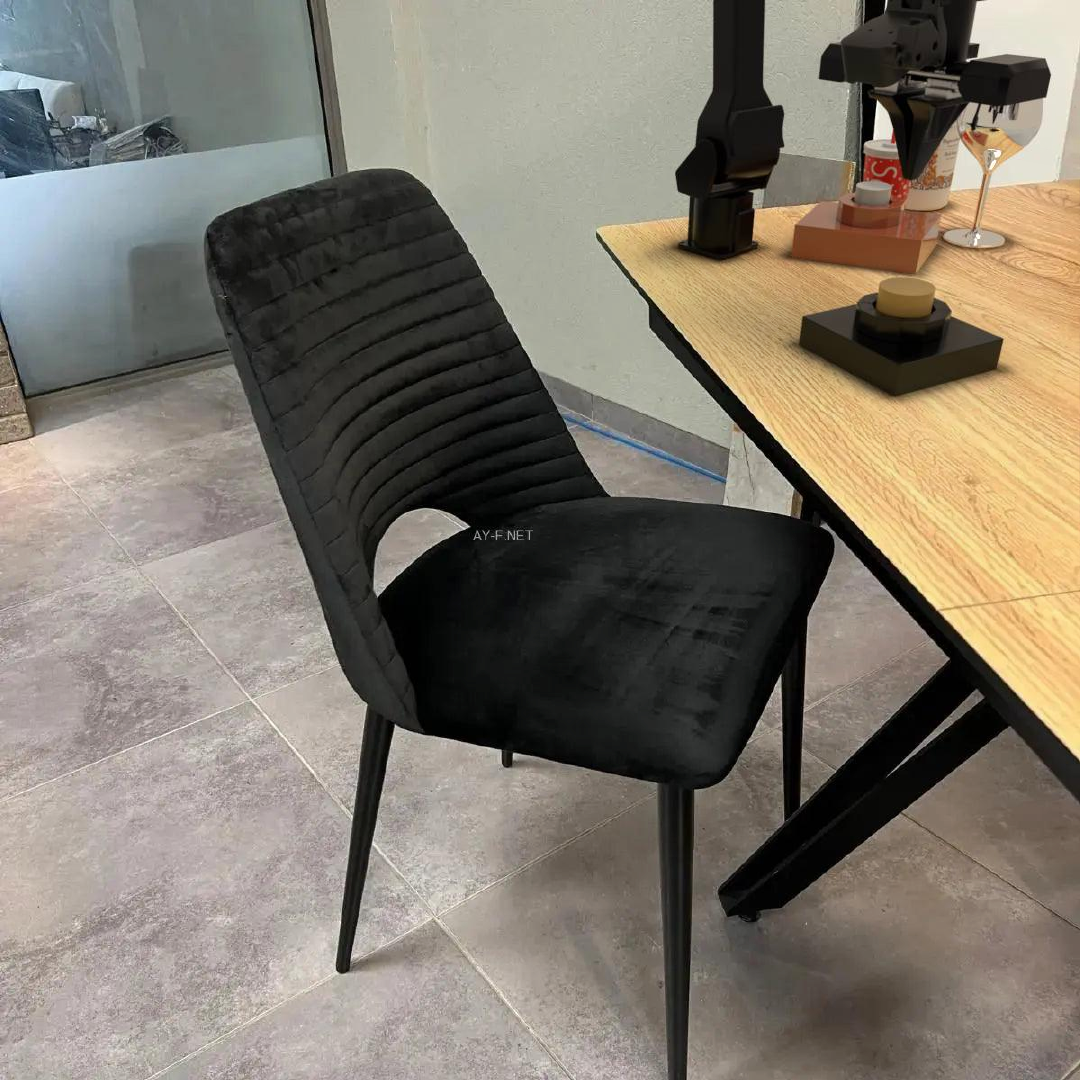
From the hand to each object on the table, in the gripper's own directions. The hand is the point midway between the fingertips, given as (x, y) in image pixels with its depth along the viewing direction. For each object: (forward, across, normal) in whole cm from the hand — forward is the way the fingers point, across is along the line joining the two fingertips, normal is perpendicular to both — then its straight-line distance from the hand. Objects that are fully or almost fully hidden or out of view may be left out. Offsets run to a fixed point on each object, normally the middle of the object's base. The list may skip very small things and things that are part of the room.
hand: (910, 179), depth 88 cm
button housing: (+12, -14, +13) cm, 23 cm away
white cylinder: (+7, -14, +13) cm, 21 cm away
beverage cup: (+12, -20, +21) cm, 31 cm away
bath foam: (+12, -23, +32) cm, 41 cm away
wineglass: (+12, -10, +26) cm, 30 cm away
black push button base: (+12, +6, -6) cm, 15 cm away
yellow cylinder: (+9, +6, -7) cm, 12 cm away
